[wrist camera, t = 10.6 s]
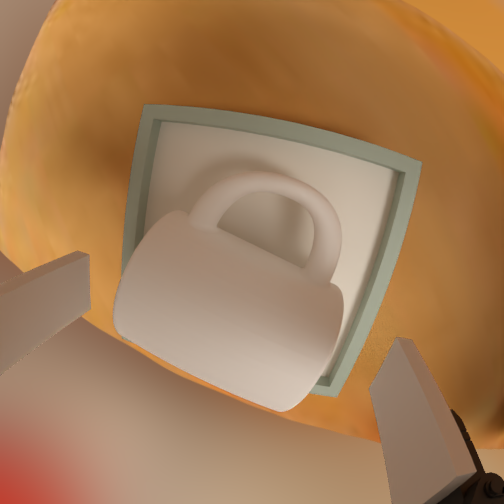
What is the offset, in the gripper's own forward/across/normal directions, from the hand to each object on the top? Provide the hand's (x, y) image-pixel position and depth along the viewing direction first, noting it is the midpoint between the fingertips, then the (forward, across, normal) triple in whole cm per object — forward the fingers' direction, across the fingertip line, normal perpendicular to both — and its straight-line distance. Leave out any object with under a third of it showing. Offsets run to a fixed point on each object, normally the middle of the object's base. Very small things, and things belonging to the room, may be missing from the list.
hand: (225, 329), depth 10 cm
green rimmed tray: (+15, 0, 0) cm, 15 cm away
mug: (+9, 0, 0) cm, 9 cm away
